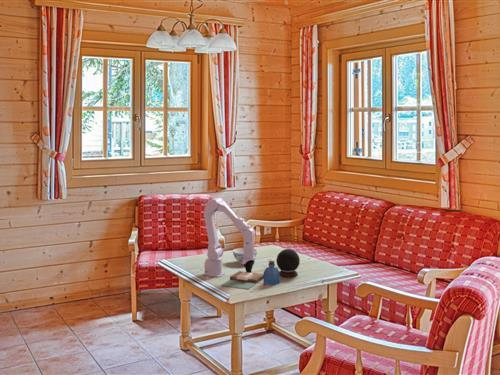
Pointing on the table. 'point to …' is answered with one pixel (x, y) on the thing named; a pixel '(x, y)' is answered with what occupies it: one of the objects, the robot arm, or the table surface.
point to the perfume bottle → (271, 274)
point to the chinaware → (241, 254)
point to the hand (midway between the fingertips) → (248, 273)
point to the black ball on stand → (288, 263)
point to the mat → (238, 284)
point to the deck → (253, 279)
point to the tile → (244, 276)
